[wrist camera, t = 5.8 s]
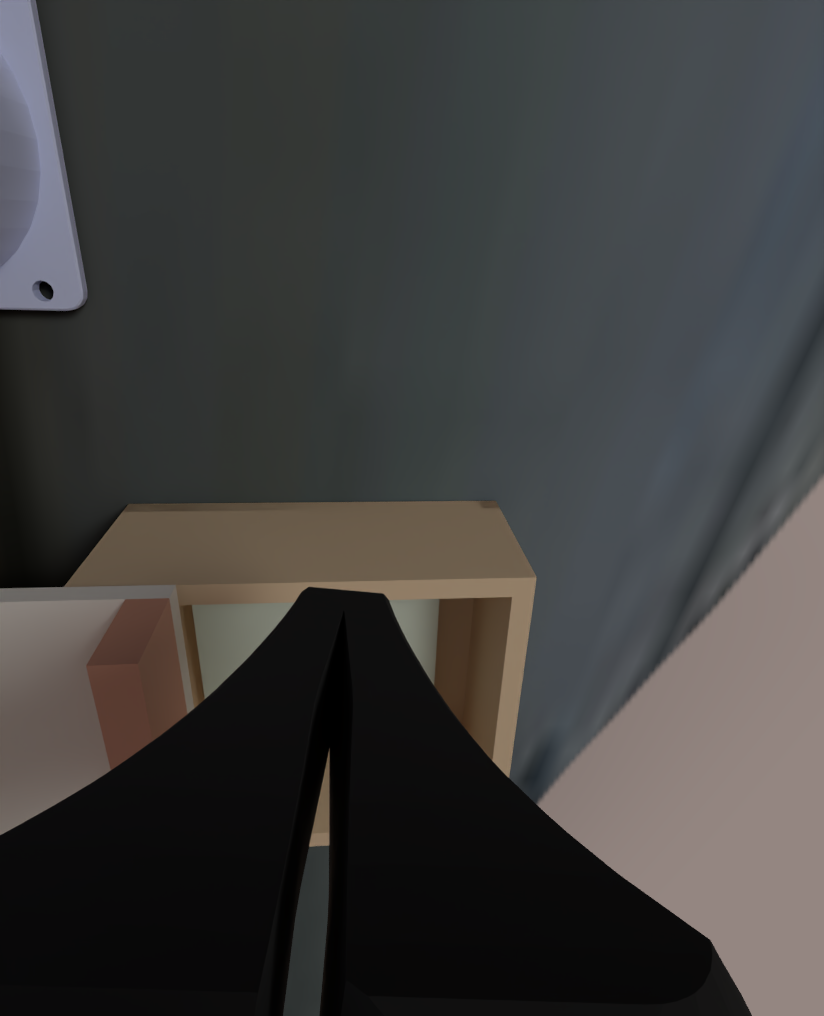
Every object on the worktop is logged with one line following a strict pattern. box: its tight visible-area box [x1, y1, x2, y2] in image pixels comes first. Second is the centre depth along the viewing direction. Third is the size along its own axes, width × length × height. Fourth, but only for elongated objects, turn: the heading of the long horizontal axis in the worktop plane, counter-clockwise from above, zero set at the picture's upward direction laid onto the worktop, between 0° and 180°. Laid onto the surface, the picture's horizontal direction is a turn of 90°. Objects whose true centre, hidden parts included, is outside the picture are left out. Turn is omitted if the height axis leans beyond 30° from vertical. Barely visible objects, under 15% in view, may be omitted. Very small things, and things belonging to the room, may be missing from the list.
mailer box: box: [64, 501, 537, 847], centre depth 20 cm, size 12×10×5 cm
